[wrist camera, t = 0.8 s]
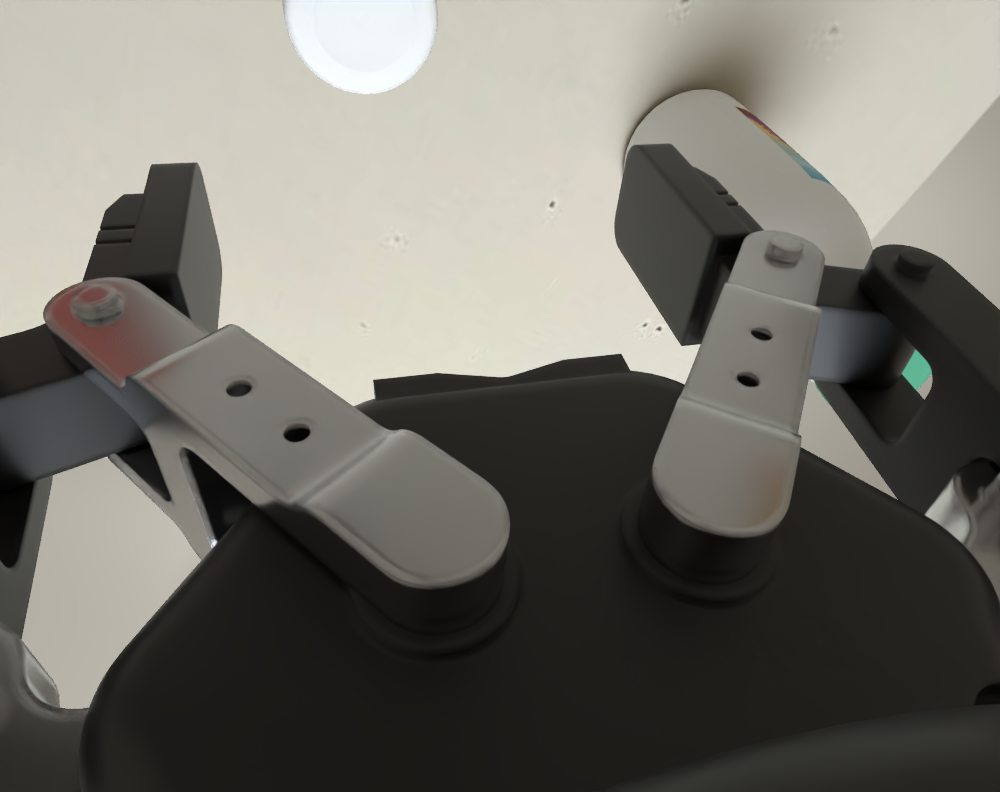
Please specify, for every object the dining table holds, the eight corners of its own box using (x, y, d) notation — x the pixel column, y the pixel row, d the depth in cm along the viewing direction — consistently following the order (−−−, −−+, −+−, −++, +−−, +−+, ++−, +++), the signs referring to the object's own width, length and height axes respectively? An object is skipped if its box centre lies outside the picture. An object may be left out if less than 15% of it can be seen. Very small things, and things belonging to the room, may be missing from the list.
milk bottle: (615, 220, 44) (775, 462, 30) (624, 95, 39) (824, 320, 25) (732, 200, 45) (939, 425, 31) (756, 75, 40) (1021, 280, 26)
